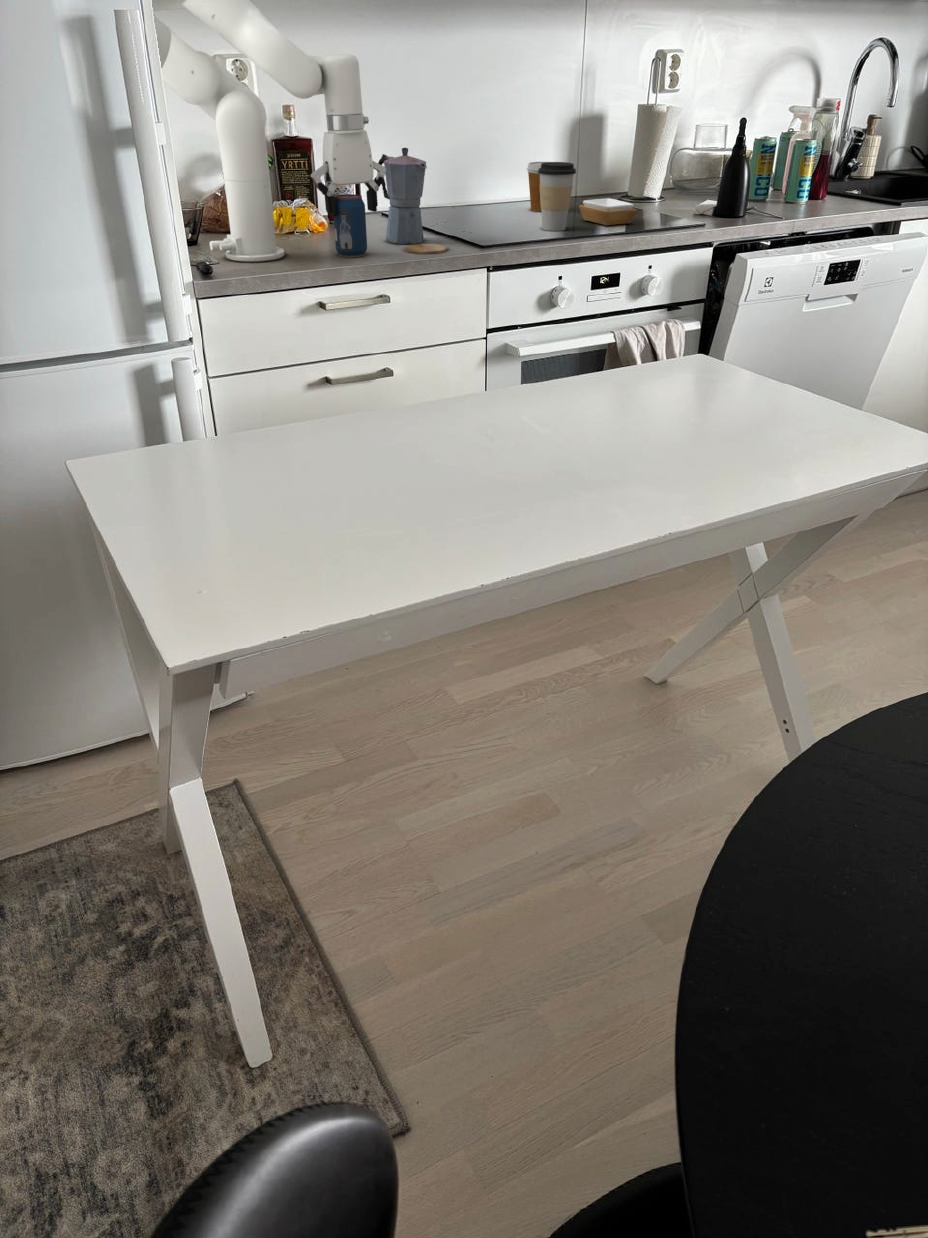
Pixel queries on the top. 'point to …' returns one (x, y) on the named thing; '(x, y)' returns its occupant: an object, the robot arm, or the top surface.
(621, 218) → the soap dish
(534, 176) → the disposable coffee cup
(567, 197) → the coffee cup
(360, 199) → the soda can
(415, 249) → the coaster
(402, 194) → the moka pot
